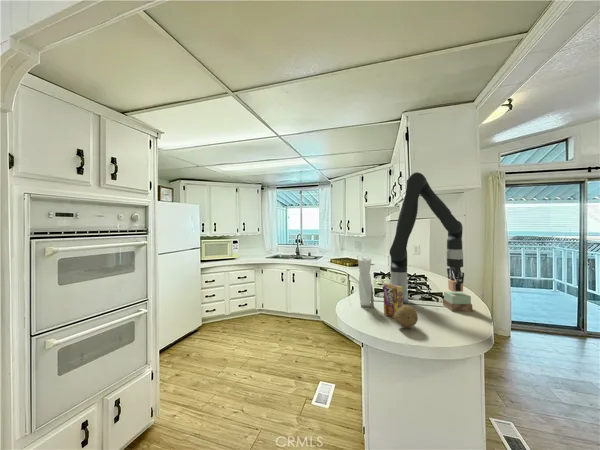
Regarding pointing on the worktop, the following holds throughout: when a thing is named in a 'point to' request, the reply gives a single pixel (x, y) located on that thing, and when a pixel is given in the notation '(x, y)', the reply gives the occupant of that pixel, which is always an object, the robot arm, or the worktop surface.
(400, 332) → the worktop surface
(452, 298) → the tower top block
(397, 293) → the candy box
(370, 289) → the skyscraper
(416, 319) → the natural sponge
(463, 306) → the tower base block
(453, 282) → the terracotta block
